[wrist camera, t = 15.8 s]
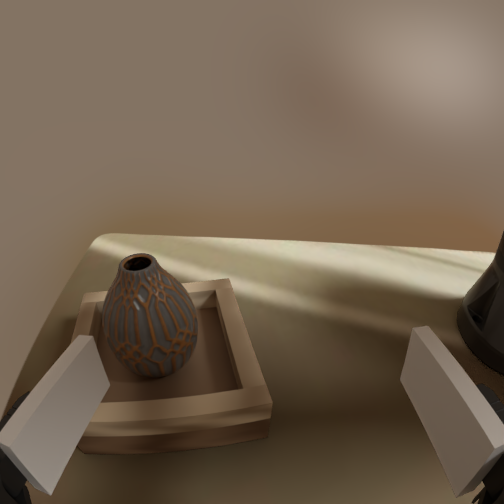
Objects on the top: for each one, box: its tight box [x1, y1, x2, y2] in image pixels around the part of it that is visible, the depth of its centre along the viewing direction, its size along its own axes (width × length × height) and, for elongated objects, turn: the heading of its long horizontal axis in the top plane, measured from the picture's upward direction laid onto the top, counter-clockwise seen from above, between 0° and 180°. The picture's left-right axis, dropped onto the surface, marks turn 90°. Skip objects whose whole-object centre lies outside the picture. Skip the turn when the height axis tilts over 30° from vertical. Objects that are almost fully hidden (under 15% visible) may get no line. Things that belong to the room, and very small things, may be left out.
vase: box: [102, 253, 198, 377], centre depth 21 cm, size 7×7×9 cm
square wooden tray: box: [71, 278, 273, 454], centre depth 23 cm, size 14×14×5 cm
